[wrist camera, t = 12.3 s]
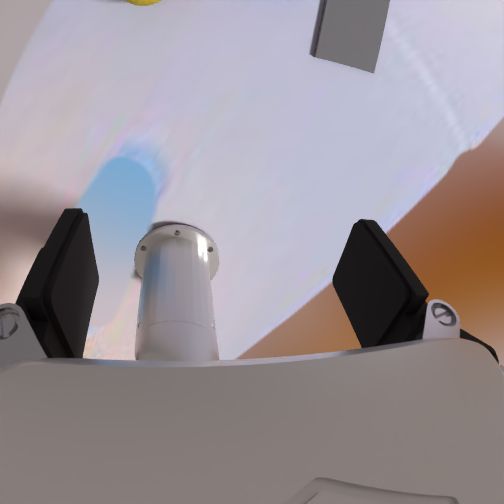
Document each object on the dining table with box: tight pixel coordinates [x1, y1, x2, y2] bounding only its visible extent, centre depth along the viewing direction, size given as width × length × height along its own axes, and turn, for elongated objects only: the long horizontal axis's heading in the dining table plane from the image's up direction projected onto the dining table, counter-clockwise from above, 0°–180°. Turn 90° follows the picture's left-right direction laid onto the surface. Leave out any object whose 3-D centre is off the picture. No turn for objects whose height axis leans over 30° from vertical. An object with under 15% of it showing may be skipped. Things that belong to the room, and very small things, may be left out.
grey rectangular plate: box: [314, 0, 390, 73], centre depth 28 cm, size 11×8×1 cm
